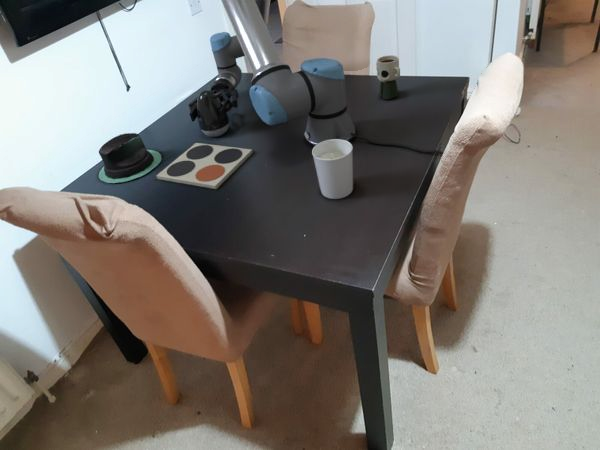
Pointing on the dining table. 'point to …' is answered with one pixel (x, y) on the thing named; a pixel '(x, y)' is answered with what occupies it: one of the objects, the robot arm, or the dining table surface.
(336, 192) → the candle holder
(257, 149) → the dining table surface
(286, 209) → the dining table surface
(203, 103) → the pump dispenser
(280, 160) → the dining table surface
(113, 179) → the black green hat
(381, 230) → the dining table surface
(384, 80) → the character mug
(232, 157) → the hob plate
